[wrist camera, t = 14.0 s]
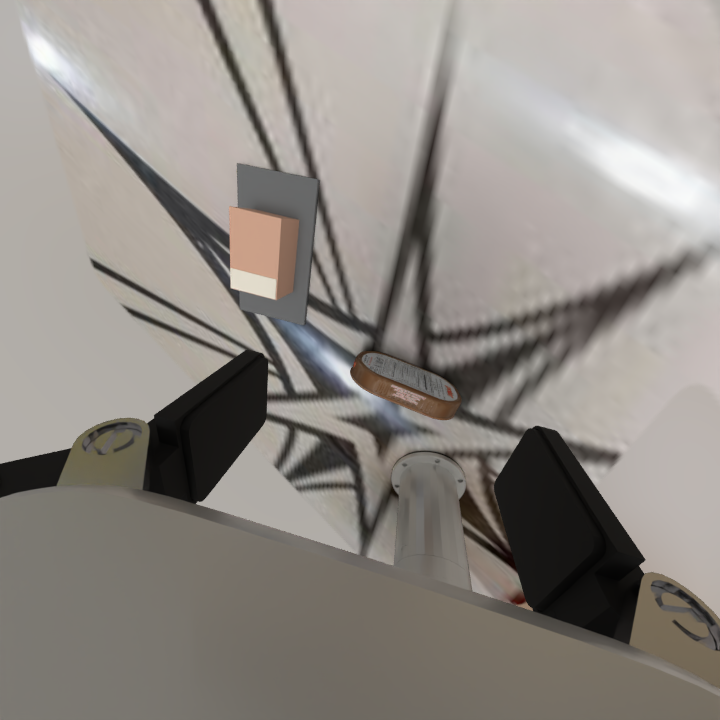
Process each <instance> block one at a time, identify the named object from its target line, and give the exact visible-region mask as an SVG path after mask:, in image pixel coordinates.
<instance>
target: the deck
mask: <svg viewBox="0 0 720 720" xmlns="http://www.w3.org/2000/svg"><path fill="white" fill-rule="evenodd" d="M229 215H230V271H231V288H232V289H236V290H239V291H243V292H247V293H251V294H255V295H258V296H262V297H266V298H270V299H274V300H278V299H280V298H282V297H284V296H286V295H288V294H290V293H292V292H293V286H294V275H295V264H296V253H297V241H298V230H299V220H298V219H293V218H289V217H285V216H281V215H277V214H272V213H268V212H264V211H260V210H255V209H248V208H240V207H231V206H229Z"/></svg>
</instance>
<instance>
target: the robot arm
mask: <svg viewBox="0 0 720 720" xmlns="http://www.w3.org/2000/svg"><path fill="white" fill-rule="evenodd" d="M267 383H268V360H267V359H266V358H264V355H263V354H262V353H259V352H255V351H251V350H245V351H244V352H243V353H241V354H240V355H238V356H237V357H235V358H234V359H233V360H231V361H230V362H228V363H227V364H226V365H224V366H223V367H221V368H220V369H219V370H217V371H216V372H214V373H213V374H211V375H210V376H209V377H207V378H206V379H204V380H203V381H202V382H200V383H199V384H197V385H196V386H195V387H193V388H192V389H190V390H189V391H187V392H186V393H185V394H183V395H182V396H180V397H179V398H178V399H176V400H175V401H174V402H172V403H171V404H169V405H168V406H166V407H165V408H164V409H162V410H161V411H159V412H158V413H156V414H155V415H154V419H153V420H151V421H150V422H148V423H145V421H142V420H139V419H135V418H120V419H114V420H110V421H106V422H103V423H101V424H98V425H96V426H94V427H92V428H90V429H88V430H86V431H85V432H84V433H83V434H81V435H80V436H79V437H78V438H77V439H76V441H75V442H74V444H73V446H72V448H70V449H66V450H62V451H57V452H52V453H47V454H43V455H39V456H34V457H30V458H25V459H20V460H15V461H11V462H7V463H2V464H0V720H720V619H719V618H718V617H717V615H716V614H715V613H714V612H713V611H712V610H711V609H710V608H709V607H708V606H707V605H706V604H705V603H704V602H703V601H702V600H701V599H699V598H698V597H697V596H696V595H694V594H693V593H692V592H691V591H690V590H688V589H687V588H685V587H684V586H682V585H681V584H679V583H678V582H676V581H675V580H673V579H671V578H668V577H666V576H664V575H662V574H658V573H653V572H650V573H645V574H644V573H643V571H642V570H641V568H640V567H639V565H640V564H641V563H642V562H644V561H645V558H644V557H643V555H642V554H641V553H640V551H639V550H638V548H637V547H636V545H635V544H634V542H633V541H632V539H631V538H630V537H629V535H628V534H627V532H626V531H625V529H624V528H623V526H622V525H621V523H620V522H619V520H618V519H617V517H616V516H615V515H614V513H613V512H612V510H611V509H610V507H609V506H608V504H607V503H606V501H605V500H604V499H603V497H602V496H601V494H600V493H599V491H598V490H597V488H596V487H595V485H594V484H593V482H592V481H591V480H590V478H589V477H588V475H587V474H586V472H585V471H584V469H583V468H582V466H581V465H580V463H579V462H578V461H577V459H576V458H575V456H574V455H573V453H572V452H571V450H570V449H569V447H568V446H567V445H566V443H565V442H564V440H563V439H562V437H561V436H560V434H559V433H558V432H557V431H555V430H552V429H548V428H544V427H541V426H535V427H533V428H532V429H531V428H530V429H528V430H527V431H526V432H525V434H524V435H523V437H522V439H521V440H520V442H519V444H518V445H517V447H516V448H515V450H514V452H513V453H512V455H511V457H510V458H509V460H508V461H507V463H506V465H505V466H504V468H503V470H502V471H501V473H500V474H499V476H498V478H497V479H496V481H495V484H494V492H495V495H496V499H497V502H498V506H499V509H500V513H501V516H502V520H503V523H504V527H505V530H506V533H507V537H508V540H509V544H510V547H511V551H512V554H513V558H514V561H515V565H516V568H517V571H518V575H519V578H520V582H521V585H522V589H523V592H524V596H525V599H526V602H527V603H528V605H529V606H530V607H532V608H533V611H530V610H527V609H524V608H521V607H518V606H515V605H512V604H509V603H506V602H503V601H500V600H497V599H494V598H491V597H488V596H484V595H481V594H478V593H475V592H472V586H471V579H470V572H469V566H468V559H467V552H466V545H465V539H464V532H463V525H462V519H461V512H460V505H459V499H460V498H461V496H462V495H463V494H464V491H465V488H466V481H465V476H464V473H463V471H462V469H461V468H460V467H459V466H458V465H457V463H455V462H454V461H453V460H451V459H450V458H448V457H446V456H444V455H440V454H437V453H432V452H417V453H412V454H409V455H407V456H404V457H403V458H401V459H400V460H399V461H398V462H397V463H396V464H395V465H394V467H393V469H392V475H391V481H392V485H393V488H394V490H395V491H396V492H397V494H398V495H399V499H398V513H397V527H396V541H395V555H394V566H392V565H389V564H385V563H382V562H379V561H376V560H373V559H370V558H367V557H364V556H360V555H357V554H354V553H351V552H348V551H345V550H342V549H338V548H335V547H332V546H329V545H326V544H322V543H320V542H317V541H313V540H310V539H307V538H303V537H301V536H297V535H294V534H291V533H287V532H285V531H281V530H278V529H275V528H271V527H269V526H265V525H262V524H259V523H256V522H253V521H250V520H246V519H243V518H240V517H236V516H234V515H230V514H227V513H224V512H221V511H217V510H213V509H210V508H207V507H203V506H200V505H197V504H196V503H197V501H199V502H201V501H203V500H204V499H205V498H206V497H207V496H208V494H209V493H210V492H211V491H212V489H213V488H214V487H215V486H216V484H217V483H218V482H219V481H220V479H221V478H222V476H223V475H224V474H225V473H226V472H227V470H228V469H229V468H230V467H231V465H232V464H233V463H234V461H235V460H236V459H237V458H238V456H239V455H240V454H241V453H242V451H243V450H244V449H245V447H246V446H247V445H248V444H249V442H250V441H251V440H252V439H253V437H254V436H255V435H256V433H257V432H258V431H259V430H260V428H261V427H262V426H263V424H264V422H265V420H266V413H267Z"/></svg>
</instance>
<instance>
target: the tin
mask: <svg viewBox="0 0 720 720" xmlns="http://www.w3.org/2000/svg"><path fill="white" fill-rule="evenodd" d="M350 374H351V377H352V379H353V380H354V381H355V382H356V383H357V384H358V385H359V386H360V387H361V388H363V389H364V390H366V391H368V392H369V393H371V394H374V395H376V396H378V397H381V398H383V399H386V400H388V401H391V402H393V403H396V404H398V405H401V406H403V407H406V408H408V409H411V410H413V411H415V412H418V413H420V414H423V415H425V416H428V417H430V418H433V419H438V420H449V419H452V418H453V417H454V415H455V412H456V411H457V409H458V407H459V406H460V404H461V397H460V394H459V393H458V391H457V389H456V388H455V387H454V386H453V385H452V384H451V383H450V382H448V381H447V380H445V379H444V378H442V377H440V376H439V375H437V374H434V373H432V372H429V371H427V370H425V369H422V368H420V367H417V366H415V365H412V364H410V363H407V362H405V361H402V360H400V359H397V358H395V357H392V356H390V355H387V354H384V353H381V352H376V351H364V352H361V353H360V354H359V355H358V356H357V357H356V359H355V362H354V365H353V367H352V368H351V370H350Z"/></svg>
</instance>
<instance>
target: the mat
mask: <svg viewBox="0 0 720 720" xmlns="http://www.w3.org/2000/svg"><path fill="white" fill-rule="evenodd" d="M319 181H320V180H318V179H313V178H308V177H303V176H298V175H293V174H288V173H283V172H278V171H273V170H268V169H263V168H258V167H253V166H248V165H243V164H238V163H237V186H238V207H240V208H248V209H255V210H260V211H264V212H268V213H272V214H277V215H281V216H285V217H289V218H293V219H298V220H299V230H298V241H297V253H296V264H295V275H294V286H293V292H292V293H290V294H288V295H286V296H284V297H282V298H280V299H278V300H274V299H270V298H266V297H262V296H258V295H255V294H251V293H247V292H243V291H240V309H241V310H245V311H249V312H253V313H257V314H261V315H265V316H269V317H273V318H277V319H281V320H285V321H289V322H293V323H297V324H301V325H305V324H306V314H307V304H308V293H309V283H310V273H311V263H312V253H313V242H314V232H315V222H316V212H317V202H318V191H319Z"/></svg>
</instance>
